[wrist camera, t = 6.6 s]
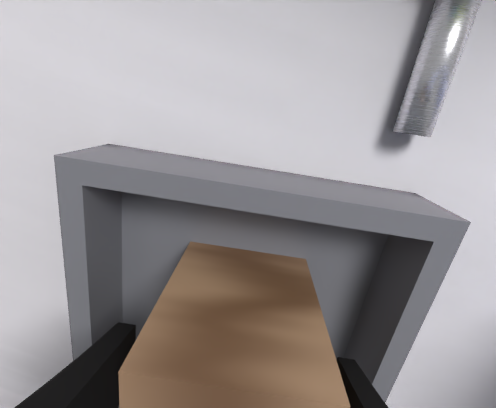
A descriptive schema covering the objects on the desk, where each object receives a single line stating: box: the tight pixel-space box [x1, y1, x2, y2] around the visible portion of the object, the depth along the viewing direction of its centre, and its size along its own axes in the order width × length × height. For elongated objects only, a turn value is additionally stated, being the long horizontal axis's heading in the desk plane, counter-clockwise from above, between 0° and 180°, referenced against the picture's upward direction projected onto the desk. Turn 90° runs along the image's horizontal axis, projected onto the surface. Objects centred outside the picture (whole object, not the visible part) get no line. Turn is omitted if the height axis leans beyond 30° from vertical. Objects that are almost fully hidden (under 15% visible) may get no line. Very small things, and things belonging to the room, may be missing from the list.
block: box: [118, 241, 350, 408], centre depth 9 cm, size 5×5×6 cm
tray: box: [54, 144, 471, 408], centre depth 11 cm, size 13×13×3 cm
